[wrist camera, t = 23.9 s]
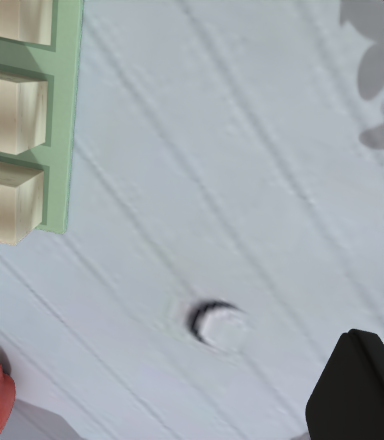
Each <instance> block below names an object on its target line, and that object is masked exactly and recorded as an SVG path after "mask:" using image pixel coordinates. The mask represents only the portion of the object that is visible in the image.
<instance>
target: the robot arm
mask: <svg viewBox="0 0 384 440" xmlns="http://www.w3.org/2000/svg"><path fill="white" fill-rule="evenodd" d="M305 416H306V422H307V426H308V430H309V434H310V438H311V440H384V344H383V342H382V341H381V339H380V337H379V336H378V335H377V334H375V333H371V332H367V331H362V330H358V329H351V330H350V331H349V332H348V333H343V334H342V335H341V336H340V338H339V340H338V342H337V344H336V346H335V348H334V350H333V352H332V354H331V356H330V358H329V360H328V362H327V364H326V366H325V368H324V370H323V372H322V374H321V376H320V378H319V380H318V382H317V384H316V386H315V388H314V390H313V392H312V394H311V396H310V398H309V400H308V402H307V405H306V411H305Z"/></svg>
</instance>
